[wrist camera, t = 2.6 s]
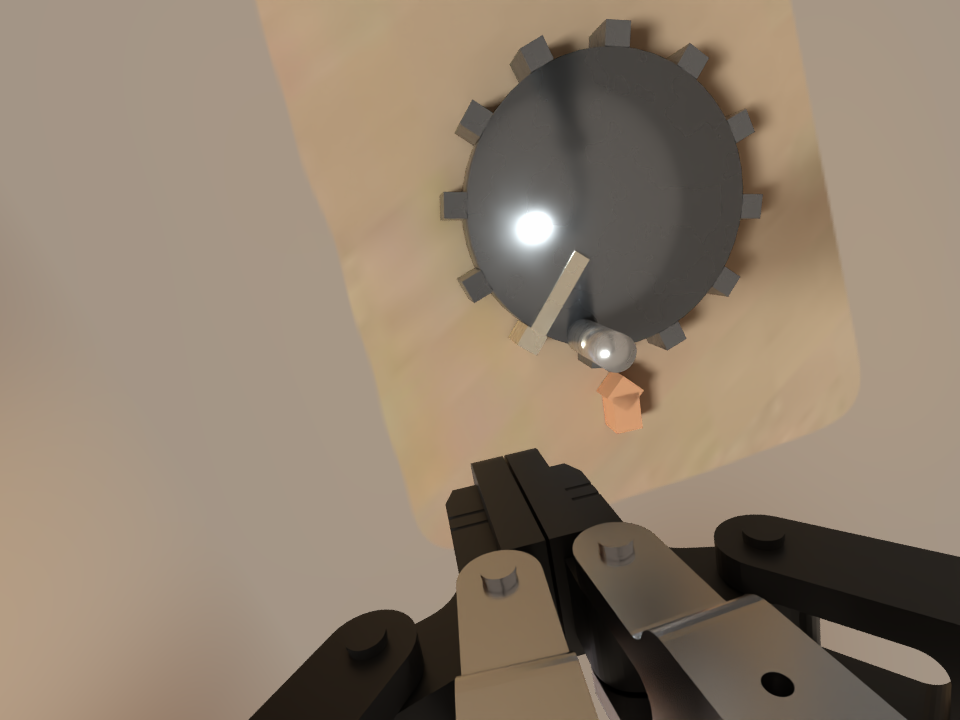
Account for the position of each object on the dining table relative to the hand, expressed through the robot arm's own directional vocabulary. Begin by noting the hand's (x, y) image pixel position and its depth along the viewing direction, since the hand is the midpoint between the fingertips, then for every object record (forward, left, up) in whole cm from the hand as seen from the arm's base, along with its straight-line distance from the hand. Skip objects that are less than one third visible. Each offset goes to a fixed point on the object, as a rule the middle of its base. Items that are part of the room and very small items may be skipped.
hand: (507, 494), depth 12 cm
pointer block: (+5, +9, -15) cm, 18 cm away
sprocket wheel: (-6, +9, -15) cm, 18 cm away
